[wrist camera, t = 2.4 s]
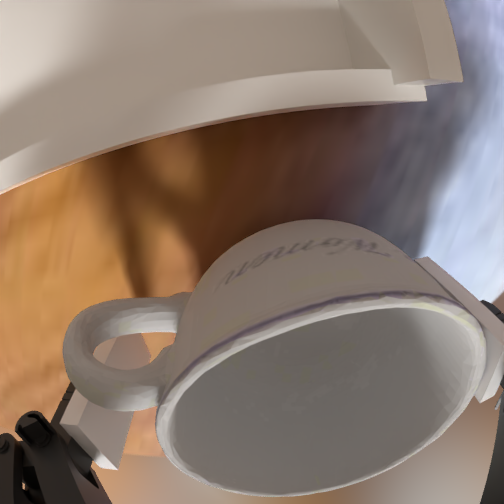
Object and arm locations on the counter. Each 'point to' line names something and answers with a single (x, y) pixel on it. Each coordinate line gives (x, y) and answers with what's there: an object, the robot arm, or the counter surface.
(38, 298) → the counter surface
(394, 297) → the teacup
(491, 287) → the counter surface
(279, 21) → the tray
